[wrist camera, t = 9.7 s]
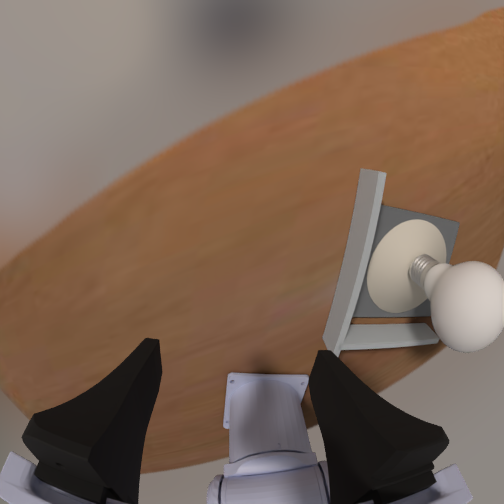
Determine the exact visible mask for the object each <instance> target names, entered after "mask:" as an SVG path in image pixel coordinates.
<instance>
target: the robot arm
mask: <svg viewBox="0 0 504 504" xmlns="http://www.w3.org/2000/svg"><path fill="white" fill-rule="evenodd" d="M161 376H162V364H161V354H160V344H159V340H158V339H151V338H145V339H144V340H143V341H142V342H141V343H140V344H139V346H138V347H137V348H136V349H135V350H134V351H133V352H132V353H131V354H130V355H129V356H128V357H127V358H126V359H125V360H124V361H123V362H122V363H121V364H120V365H119V366H118V367H117V368H116V369H114V370H113V371H112V372H111V373H110V374H109V375H108V376H106V377H105V378H104V379H103V380H101V381H100V382H99V383H97V384H96V385H95V386H93V387H92V388H90V389H89V390H87V391H86V392H84V393H82V394H81V395H79V396H77V397H75V398H74V399H72V400H70V401H68V402H65V403H63V404H61V405H59V406H56V407H54V408H51V409H48V410H45V411H42V412H39V413H35V414H34V415H33V416H32V418H31V420H30V421H29V423H28V426H27V428H26V429H25V431H24V433H23V435H22V439H23V442H24V444H25V445H26V446H27V448H28V449H29V450H30V451H31V452H32V453H33V455H34V456H35V457H36V458H37V459H38V460H39V463H38V465H37V466H36V465H35V464H34V463H32V462H31V461H29V460H27V459H25V458H23V457H22V456H20V455H18V454H16V453H14V452H12V451H11V452H10V453H9V455H8V458H7V460H6V462H5V464H4V467H3V469H2V471H1V474H0V497H1V498H2V499H3V500H5V501H6V502H8V503H9V504H138V493H139V480H140V469H141V461H142V453H143V447H144V441H145V435H146V431H147V427H148V424H149V421H150V417H151V414H152V411H153V408H154V404H155V401H156V398H157V395H158V392H159V387H160V382H161ZM231 380H234V381H231ZM302 382H304V383H302ZM308 382H309V389H310V395H311V400H312V404H313V407H314V410H315V414H316V417H317V420H318V424H319V427H320V430H321V433H322V437H323V441H324V446H325V452H326V458H327V461H320V462H317V458H316V454H315V452H312V451H311V447H310V442H309V438H308V434H307V429H306V425H305V421H304V417H303V412H302V408H301V401H302V399H303V396H304V393H305V390H306V388H307V385H308ZM223 427H224V428H226V429H229V464H225V465H224V474H223V475H217V476H215V477H214V479H213V480H212V481H211V482H210V484H209V487H208V491H207V504H467V503H468V502H469V501H471V500H472V499H473V497H472V495H471V493H470V491H469V489H468V487H467V485H466V483H465V481H464V479H463V477H462V475H461V473H460V471H459V469H458V467H457V465H456V464H452V465H450V466H449V467H446V468H444V469H442V470H440V471H438V472H437V473H435V474H433V473H432V471H431V470H433V469H434V465H433V463H432V461H434V460H435V459H436V458H437V457H438V456H439V455H440V454H441V453H442V452H443V451H444V450H445V449H446V447H447V446H448V444H449V439H448V437H447V435H446V434H445V432H444V430H443V428H442V427H440V426H437V425H434V424H431V423H428V422H425V421H423V420H420V419H418V418H416V417H413V416H411V415H409V414H407V413H405V412H404V411H402V410H400V409H398V408H396V407H395V406H393V405H392V404H390V403H389V402H387V401H386V400H384V399H383V398H381V397H380V396H379V395H377V394H376V393H375V392H374V391H372V390H371V389H370V388H369V387H368V386H367V385H365V384H364V383H363V382H362V381H361V380H360V379H359V378H358V377H357V376H356V375H355V374H354V373H353V372H352V371H351V370H350V369H349V368H348V367H347V366H346V365H345V364H344V363H343V362H342V361H341V360H340V359H339V358H338V357H337V356H336V355H335V354H334V353H333V352H332V351H331V350H319V351H318V354H317V357H316V360H315V363H314V366H313V369H312V371H311V374H310V377H309V376H308V375H280V374H249V373H229V374H228V379H227V389H226V400H225V411H224V421H223Z"/></svg>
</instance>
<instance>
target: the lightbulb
mask: <svg viewBox="0 0 504 504" xmlns="http://www.w3.org/2000/svg"><path fill="white" fill-rule="evenodd" d="M409 273H410V277H411V279H412V280H413V281H414V282H415V283H416V284H418V285H419V286H420V287H421V288H422V289H423V290H424V291H425V294H426V296H427V298H428V300H429V301H430V311H431V320H432V324H433V327H434V330H435V332H436V334H437V336H438V337H439V338H440V340H441V341H442V342H443V343H444V344H445V345H446V346H448V347H449V348H451V349H453V350H455V351H459V352H463V353H470V352H476V351H479V350H482V349H484V348H485V347H487V346H488V345H490V344H491V343H492V342H493V341H494V340H495V339H496V338H497V337H498V336H499V335H500V333H501V331H502V330H503V328H504V279H503V278H502V277H501V275H500V274H499V273H498V271H497V270H495V269H494V268H493V267H491V266H490V265H488V264H486V263H483V262H479V261H467V262H463V263H459V264H456V265H451V264H447V263H440V262H438V261H437V260H435V259H434V258H432V257H431V256H429V255H428V254H421V255H419V256H417V257H416V258H415V259H414V261H413V262H412V264H411V266H410V271H409Z"/></svg>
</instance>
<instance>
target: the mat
mask: <svg viewBox="0 0 504 504" xmlns="http://www.w3.org/2000/svg"><path fill="white" fill-rule="evenodd" d="M459 224H460V223H459V222H455V221H451V220H447V219H443V218H439V217H435V216H431V215H426V214H422V213H418V212H413V211H408V210H404V209H399V208H394V207H389V206H384V205H381V207H380V212H379V217H378V222H377V226H376V231H375V235H374V240H373V244H372V248H371V252H370V256H369V260H368V264H367V268H366V272H365V275H364V279H363V283H362V286H361V290H360V293H359V297H358V300H357V303H356V306H355V310H354V313H353V316H352V317H420V316H430V315H431V311H430V301H429V300H428V298H427V296H426V294H425V291H424V290H423V289H422V288H421V287H420V286H419V285H418V284H416V283H415V282H414V281H413V280H412V279H411V277H410V273H409V271H410V266H411V264H412V262H413V261H414V259H415V258H416V257H417V256H419V255H421V254H428V255H429V256H431V257H432V258H434V259H435V260H437V261H438V262H440V263H447V264H449V261H450V258H451V255H452V251H453V247H454V244H455V240H456V236H457V232H458V228H459Z"/></svg>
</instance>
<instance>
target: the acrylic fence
mask: <svg viewBox="0 0 504 504" xmlns="http://www.w3.org/2000/svg"><path fill="white" fill-rule="evenodd" d="M385 179H386V173H384V172H380V171H374V170H368V169H362V168H361V169H360V176H359V182H358V188H357V194H356V200H355V205H354V211H353V216H352V221H351V226H350V231H349V236H348V241H347V245H346V250H345V254H344V259H343V263H342V267H341V271H340V275H339V279H338V283H337V287H336V291H335V295H334V299H333V303H332V306H331V310H330V313H329V317H328V320H327V324H326V327H325V331H324V334H323V337H322V338H323V340H324V342H325V345H326V347H327V349H328V350H331V351H332V352H333V353H334V354H335V355H336V356H337V357H339V354H340V351H341V350H358V349H378V348H394V347H406V346H417V345H427V344H435V343H438V341H439V339H440V338H439V337H438V336H437V335H436V334H435V333H434V332H433V331H432V329H431V328H430V327H429V326H428V325H427V324H426V323H411V324H350V322H351V319H352V316H353V313H354V310H355V306H356V303H357V300H358V297H359V293H360V290H361V286H362V283H363V279H364V275H365V272H366V268H367V264H368V260H369V256H370V252H371V248H372V244H373V240H374V235H375V231H376V226H377V222H378V217H379V212H380V207H381V201H382V196H383V190H384V185H385Z"/></svg>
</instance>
